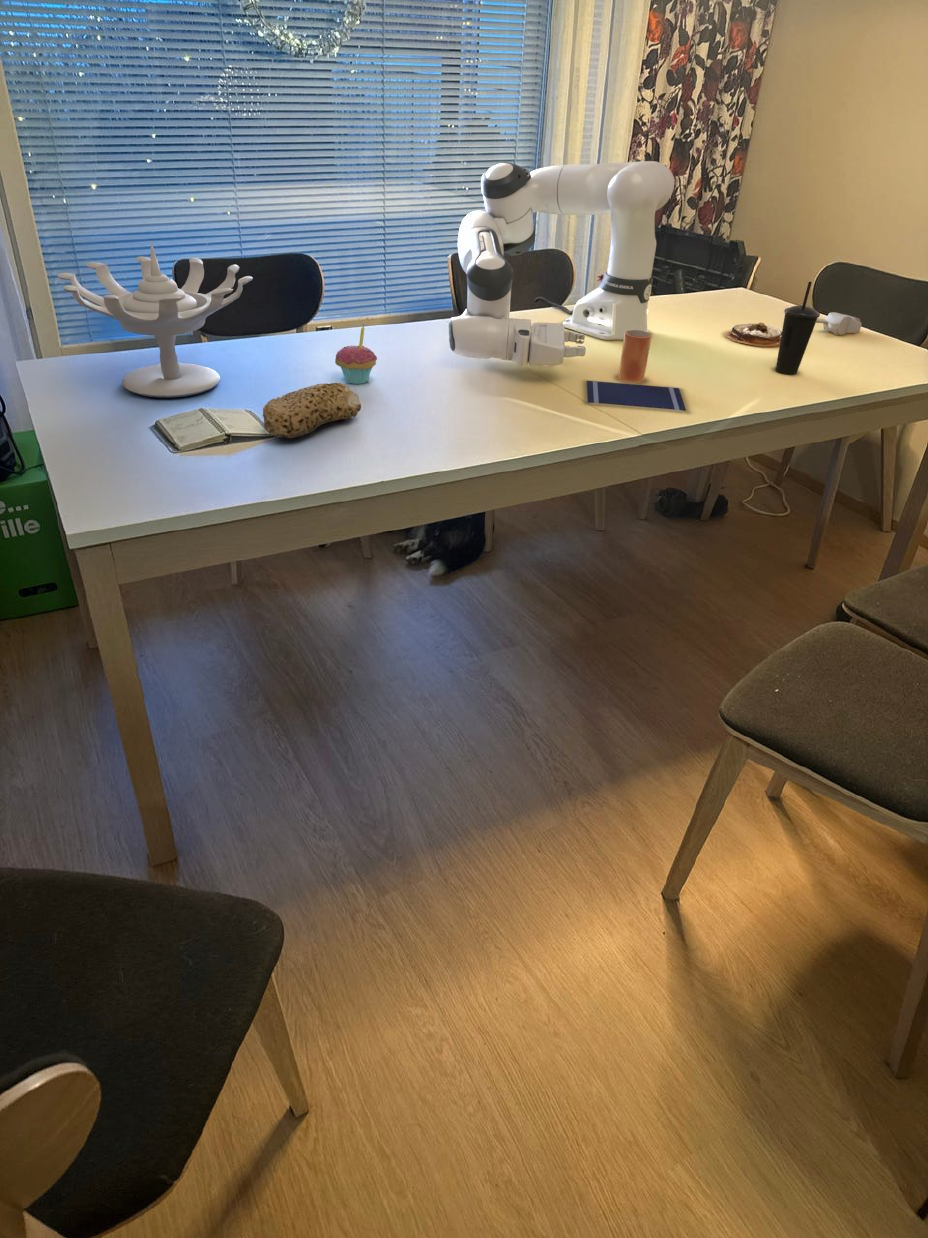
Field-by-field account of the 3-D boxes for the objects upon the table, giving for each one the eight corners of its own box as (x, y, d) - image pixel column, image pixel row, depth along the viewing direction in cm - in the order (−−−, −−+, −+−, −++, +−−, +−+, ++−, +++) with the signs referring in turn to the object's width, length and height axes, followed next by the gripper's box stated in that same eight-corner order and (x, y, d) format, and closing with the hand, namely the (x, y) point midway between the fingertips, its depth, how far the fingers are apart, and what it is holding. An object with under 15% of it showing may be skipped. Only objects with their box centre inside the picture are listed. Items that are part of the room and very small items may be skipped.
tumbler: (613, 379, 185) (620, 333, 179) (625, 373, 189) (632, 328, 183) (636, 385, 182) (644, 338, 176) (648, 379, 186) (656, 333, 180)
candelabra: (104, 427, 148) (71, 265, 133) (65, 370, 172) (33, 226, 157) (286, 400, 164) (275, 252, 149) (226, 351, 188) (212, 219, 173)
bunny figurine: (872, 319, 225) (840, 317, 217) (865, 338, 228) (832, 338, 220) (843, 310, 231) (810, 309, 223) (836, 329, 234) (803, 328, 226)
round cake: (715, 331, 222) (718, 315, 220) (764, 329, 226) (768, 314, 223) (744, 347, 210) (748, 330, 208) (796, 346, 214) (800, 329, 212)
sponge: (332, 412, 163) (238, 410, 150) (342, 374, 159) (246, 369, 146) (367, 446, 156) (272, 447, 143) (378, 408, 152) (281, 406, 139)
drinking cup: (805, 378, 192) (831, 287, 181) (771, 374, 193) (794, 283, 182) (800, 368, 198) (825, 279, 187) (767, 365, 199) (790, 276, 188)
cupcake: (383, 377, 178) (382, 320, 171) (366, 389, 171) (365, 330, 165) (346, 371, 180) (344, 314, 174) (328, 383, 174) (326, 324, 167)
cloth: (587, 404, 171) (587, 402, 170) (586, 382, 182) (586, 380, 182) (685, 412, 169) (686, 410, 169) (678, 389, 181) (679, 387, 181)
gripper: (522, 341, 193) (581, 345, 192) (518, 368, 176) (584, 373, 175) (524, 313, 189) (585, 317, 189) (521, 338, 173) (588, 343, 172)
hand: (584, 345), depth 182 cm, fingers open, 8 cm apart
